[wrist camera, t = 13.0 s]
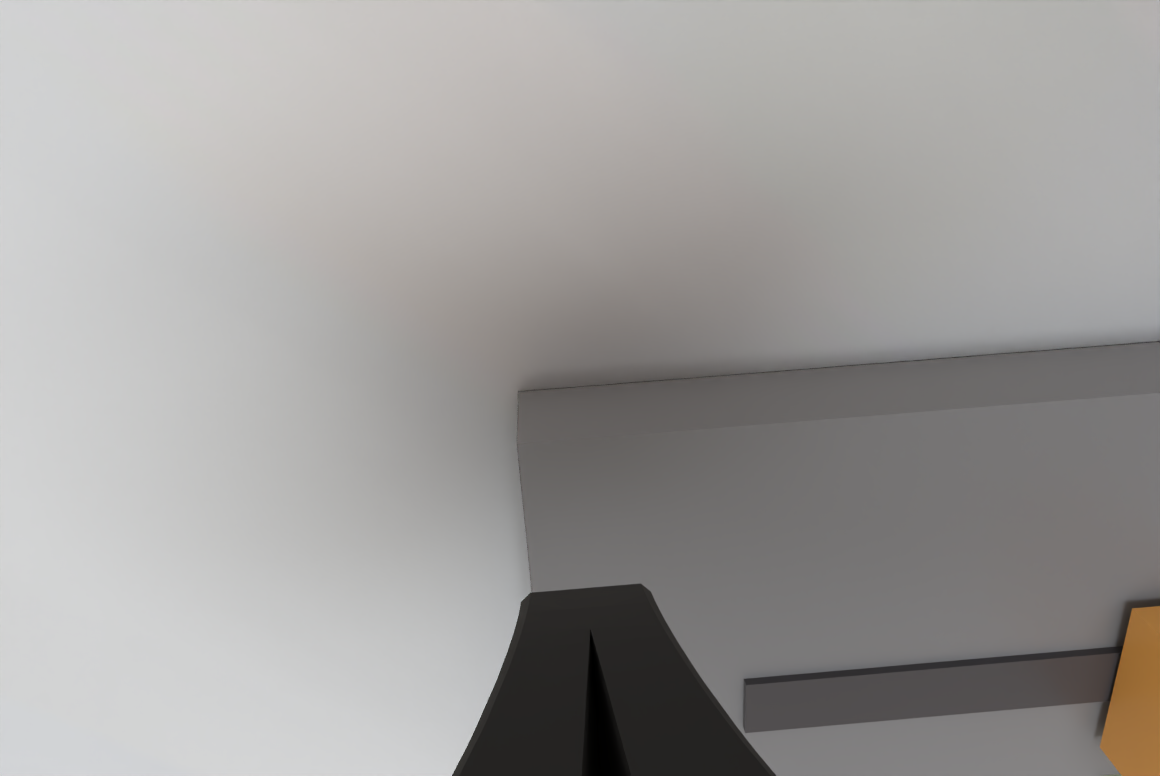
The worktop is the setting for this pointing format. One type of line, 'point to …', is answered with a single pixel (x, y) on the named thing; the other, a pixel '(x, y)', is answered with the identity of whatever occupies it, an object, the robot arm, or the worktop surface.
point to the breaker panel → (873, 547)
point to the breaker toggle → (1136, 699)
